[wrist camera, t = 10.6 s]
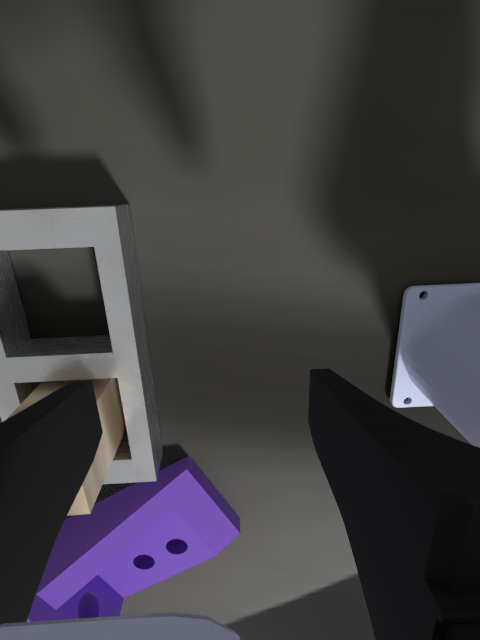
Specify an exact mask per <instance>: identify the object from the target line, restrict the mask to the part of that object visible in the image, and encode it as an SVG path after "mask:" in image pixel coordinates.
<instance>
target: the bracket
mask: <svg viewBox="0 0 480 640" xmlns="http://www.w3.org/2000/svg"><path fill="white" fill-rule="evenodd" d="M239 534H240V518H239V517H238V516H237V514H236V513H235V512H234V511H233V510H232V508H231V507H230V506H229V505H228V503H227V502H226V501H225V500H224V499H223V497H222V496H221V495H220V494H219V492H218V491H217V490H216V489H215V488H214V486H213V485H212V484H211V483H210V481H209V480H208V479H207V478H206V476H205V475H204V474H203V473H202V472H201V470H200V469H199V468H198V467H197V465H196V464H195V463H194V462H193V461H192V459H191V458H190V457H189V456H187V457H185V458H183V459H181V460H179V461H177V462H175V463H174V464H172V465H170V466H168V467H166V468H164V469H162V470H160V471H159V473H158V477H157V481H152V482H137V483H135V484H133V485H131V486H129V487H127V488H125V489H123V490H121V491H119V492H117V493H115V494H113V495H111V496H109V497H108V498H106V499H104V500H102V501H100V502H98V503H96V504H94V506H93V509H92V511H91V513H90V514H83V515H73V516H71V517H69V518H67V519H65V521H64V523H63V525H62V527H61V529H60V531H59V534H58V536H57V538H56V540H55V543H54V546H53V548H52V551H51V554H50V556H49V559H48V562H47V564H46V567H45V570H44V572H43V575H42V578H41V581H40V584H39V587H38V590H37V592H36V595H35V598H34V601H33V604H32V607H31V610H30V613H29V616H28V619H27V622H35V621H50V620H65V619H80V618H95V617H111V616H119V614H120V611H121V607H122V603H123V599H124V598H125V597H127V596H129V595H131V594H134V593H136V592H138V591H140V590H142V589H145V588H147V587H149V586H151V585H153V584H156V583H158V582H160V581H162V580H164V579H166V578H169V577H171V576H173V575H175V574H177V573H180V572H182V571H184V570H186V569H188V568H191V567H193V566H195V565H197V564H199V563H201V562H204V561H206V560H208V559H210V558H212V557H215V556H216V555H217V554H218V553H219V552H220V551H221V550H223V549H224V548H225V547H226V546H227V545H228V544H229V543H230V542H231V541H232V540H233V539H234V538H236V537H237V536H238V535H239Z"/></svg>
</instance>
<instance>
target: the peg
mask: <svg viewBox="0 0 480 640" xmlns="http://www.w3.org/2000/svg"><path fill="white" fill-rule="evenodd" d="M91 380H92V382H93V387H94V392H95V397H96V402H97V406H98V411H99V416H100V421H101V426H102V431H103V433H102V437H101V440H100V443H99V447H98V450H97V452H96V455H95V458H94V461H93V463H92V465H91V467H90V469H89V472H88V474H87V476H86V478H85V480H84V482H83V484H82V486H81V488H80V490H79V492H78V494H77V496H76V498H75V500H74V502H73V504H72V506H71V508H70V510H69V512H68V514H67V516H69V515H83V514H90V513H91V511H92V509H93V506H94V504H95V501H96V499H97V497H98V494H99V492H100V489H101V487H102V485H103V482H104V480H105V477H106V475H107V473H108V470H109V468H110V465H111V463H112V461H113V458H114V456H115V453H116V451H117V449H118V446H119V444H120V441H121V439H122V437H123V434H124V432H125V429H126V423H125V418H124V412H123V406H122V401H121V395H120V389H119V384H118V378H104V379H84V380H64V381H44V382H41V383H40V384H39V386H38V387H37V388H36V389H35V390H34V391H33V392H32V393H31V394H30V395H29V396H28V397H27V398H26V399H25V400H24V401H23V402H22V403H21V404H20V405H19V407H18V408H17V409H16V410H15V411H14V412H13V413H12V414H11V415H10V416H9V417H8V418H10V417H12V416H14V415H15V414H17V413H19V412H21V411H22V410H24V409H26V408H27V407H29V406H31V405H32V404H34V403H36V402H37V401H39V400H41V399H42V398H44V397H46V396H47V395H49V394H51V393H52V392H54V391H56V390H58V389H59V388H61V387H63V386H65V385H67V384H69V383H71V382H73V381H91ZM8 418H7V419H8ZM7 419H6V420H7Z"/></svg>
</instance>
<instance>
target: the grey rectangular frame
mask: <svg viewBox="0 0 480 640" xmlns="http://www.w3.org/2000/svg"><path fill="white" fill-rule="evenodd" d="M73 247H94V249H95V254H96V260H97V266H98V271H99V277H100V282H101V288H102V294H103V299H104V305H105V311H106V316H107V322H108V327H109V333H110V335H99V336H78V337H57V338H35V339H31V336H30V332H29V329H28V325H27V321H26V317H25V313H24V309H23V306H22V302H21V298H20V294H19V290H18V287H17V283H16V279H15V275H14V271H13V268H12V264H11V260H10V256H9V252H8V250H25V249H49V248H73ZM104 378H118V384H119V389H120V395H121V401H122V406H123V412H124V418H125V423H126V429H127V433H124V434H123V437H122V439H121V441H120V444H119V446H118V449H117V451H116V453H115V456H114V458H113V461H112V463H111V465H110V468H109V470H108V473H107V475H106V477H105V480H104V482H103V484H117V483H134V482H152V481H157V477H158V473H159V469H160V465H161V460H162V456H163V447H162V439H161V432H160V425H159V417H158V410H157V403H156V396H155V388H154V381H153V374H152V367H151V359H150V352H149V345H148V337H147V330H146V323H145V316H144V308H143V301H142V294H141V287H140V279H139V272H138V265H137V258H136V250H135V243H134V236H133V228H132V221H131V214H130V207H129V204H123V205H97V206H71V207H45V208H19V209H0V416H1V420H2V422H3V421H5V420H6V419H7V418H8V417H9V416H10V415H11V414H12V413H13V412H14V411H15V410H16V409H17V408H18V407H19V405H20V404H21V403H22V402H23V401H24V400H25V399H26V398H27V397H28V396H29V395H30V394H31V393H32V392H33V391H34V390H35V389H36V388H37V387H38V386H39V384H40V383H41V382H44V381H64V380H84V379H104Z"/></svg>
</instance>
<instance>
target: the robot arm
mask: <svg viewBox="0 0 480 640" xmlns="http://www.w3.org/2000/svg"><path fill="white" fill-rule="evenodd" d="M423 291H424V292H425V294H424V296H423V297H421V298H419V295H420V293H421V292H423ZM408 397H409V398H408ZM405 398H408V400H406V401H404V399H405ZM390 402H391V403H392V405H393V406H394V407H397V408H402V407H421V406H435V407H436V408H437V409H438V410H439V411H440V412H441V413H442V414H443V415H444V416H445V417H446V419H447V420H448V421H449V422H450V423H451V424H452V425H453V426H454V427H455V428H456V429H457V430H458V431H459V432H460V433H461V434H462V435H463V436H464V437H465V438H466V439H467V440H468V441H469V442H470V443H471V444H472V445H470V444H467V443H464V442H462V441H459V440H457V439H454V438H452V437H449V436H446V435H444V434H441V433H439V432H437V431H434V430H432V429H430V428H427V427H425V426H423V425H421V424H419V423H417V422H415V421H413V420H411V419H409V418H407V417H405V416H403V415H401V414H399V413H397V412H395V411H394V410H392V409H390V408H388V407H387V406H385V405H383V404H382V403H380V402H378V401H377V400H375V399H373V398H372V397H370V396H369V395H367V394H366V393H364V392H363V391H361V390H360V389H358V388H357V387H355V386H354V385H352V384H351V383H349V382H348V381H347V380H345V379H344V378H342V377H341V376H339V375H338V374H336V373H335V372H333V371H332V370H330V369H311V370H310V389H309V415H308V422H309V426H310V431H311V435H312V439H313V442H314V446H315V449H316V452H317V455H318V457H319V460H320V462H321V465H322V467H323V470H324V472H325V475H326V477H327V480H328V482H329V485H330V487H331V490H332V492H333V495H334V497H335V500H336V502H337V505H338V507H339V510H340V513H341V516H342V518H343V521H344V524H345V528H346V531H347V535H348V538H349V542H350V545H351V549H352V552H353V555H354V559H355V563H356V566H357V570H358V574H359V578H360V581H361V585H362V589H363V592H364V596H365V600H366V604H367V608H368V612H369V616H370V620H371V623H372V627H373V631H374V635H375V639H376V640H480V283H465V284H442V285H420V286H410V287H408V288H407V289H406V290H405V291H404V294H403V302H402V310H401V317H400V325H399V332H398V340H397V348H396V355H395V363H394V371H393V378H392V386H391V393H390ZM102 433H103V431H102V426H101V421H100V416H99V411H98V406H97V402H96V397H95V392H94V387H93V382H92V380H91V381H73V382H71V383H69V384H67V385H65V386H63V387H61V388H59V389H58V390H56V391H54V392H52V393H51V394H49V395H47V396H46V397H44V398H42V399H41V400H39V401H37V402H36V403H34V404H32V405H31V406H29V407H27V408H26V409H24V410H22V411H21V412H19V413H17V414H15V415H14V416H12V417H10V418H8V419H7V420H5V421H3V422H1V423H0V640H241V639H240V637H239V636H238V635H237V634H236V633H235V632H234V631H233V630H232V629H230V628H228V627H226V626H224V625H222V624H221V623H219V622H217V621H215V620H213V619H211V618H209V617H208V616H202V615H192V614H182V613H173V612H171V613H156V614H141V615H126V616H111V617H95V618H80V619H65V620H50V621H35V622H27V619H28V616H29V613H30V610H31V607H32V604H33V601H34V598H35V595H36V592H37V590H38V587H39V584H40V581H41V578H42V575H43V572H44V570H45V567H46V564H47V562H48V559H49V556H50V554H51V551H52V548H53V546H54V543H55V540H56V538H57V536H58V534H59V531H60V529H61V527H62V525H63V523H64V521H65V519H66V516H67V514H68V512H69V510H70V508H71V506H72V504H73V502H74V500H75V498H76V496H77V494H78V492H79V490H80V488H81V486H82V484H83V482H84V480H85V478H86V476H87V474H88V472H89V469H90V467H91V465H92V463H93V461H94V458H95V455H96V452H97V450H98V447H99V443H100V440H101V437H102Z"/></svg>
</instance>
